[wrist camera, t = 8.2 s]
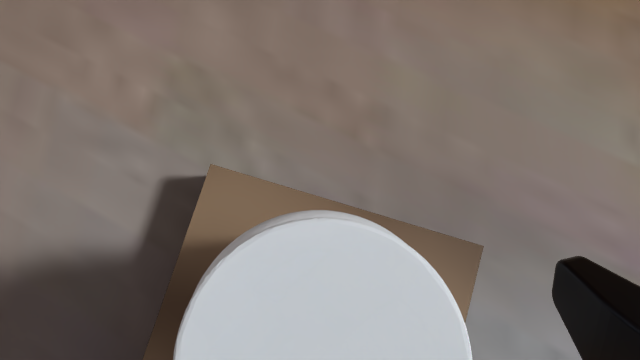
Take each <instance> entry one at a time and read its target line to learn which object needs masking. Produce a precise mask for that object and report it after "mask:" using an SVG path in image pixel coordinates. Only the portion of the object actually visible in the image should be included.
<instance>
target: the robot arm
mask: <svg viewBox="0 0 640 360" xmlns="http://www.w3.org/2000/svg"><path fill="white" fill-rule="evenodd" d="M552 297H553V301H554V304H555V306H556V308H557V310H558V312H559V314H560V316H561V318H562V320H563V322H564V324H565V326H566V328H567V330H568V332H569V334H570V336H571V338H572V340H573V342H574V344H575V346H576V348H577V350H578V352H579V354H580V356H581V358H582V360H640V286H638V285H636V284H634V283H632V282H630V281H628V280H626V279H625V278H623V277H621V276H619V275H617V274H615V273H613V272H611V271H609V270H608V269H606V268H604V267H602V266H600V265H598V264H596V263H594V262H592V261H590V260H589V259H587V258H585V257H581V256H575V257H571V258H567V259H563V260H560V261H558V263H557V264H556V268H555V274H554V281H553V288H552Z"/></svg>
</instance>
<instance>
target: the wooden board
mask: <svg viewBox="0 0 640 360" xmlns="http://www.w3.org/2000/svg"><path fill="white" fill-rule="evenodd" d="M308 210H329V211H337V212H344V213H348V214H352V215H355V216H359V217H362V218H364V219H367V220H369V221H372V222H374V223H376V224H378V225H380V226H382V227H384V228H385V229H387V230H388V231H390V232H392V233H393V234H394V235H396V236H397V237H399V238H400V239H401V240H402V241H404V242H405V243H406V244H407V245H408V246H410V247H411V248H413V249H414V250H415V251H416V252H418V253H419V254H420V255H421V256H422V257H423V258H424V259H426V260H427V262H428V263H429V264H430V265H431V266H432V267H433V268H434V269H435V270H436V272H437V273H438V274H439V276H440V277H441V278H442V279H443V281H444V282H445V284H446V285H447V287H448V289H449V290H450V292H451V294H452V295H453V297H454V299H455V301H456V303H457V305H458V307H459V309H460V312H461V314H462V317H463V320H464V322H465V321H466V317H467V313H468V309H469V305H470V300H471V296H472V292H473V288H474V284H475V280H476V276H477V272H478V267H479V263H480V259H481V255H482V251H483V247H484V246H481V245H478V244H475V243H472V242H468V241H465V240H462V239H458V238H455V237H452V236H448V235H445V234H442V233H438V232H435V231H432V230H428V229H425V228H422V227H418V226H415V225H412V224H408V223H405V222H402V221H398V220H395V219H392V218H388V217H385V216H382V215H378V214H375V213H372V212H368V211H365V210H362V209H359V208H355V207H352V206H349V205H345V204H342V203H339V202H335V201H332V200H329V199H325V198H322V197H319V196H315V195H312V194H309V193H305V192H302V191H299V190H295V189H292V188H289V187H285V186H282V185H279V184H275V183H272V182H269V181H265V180H262V179H259V178H255V177H252V176H249V175H246V174H242V173H239V172H236V171H232V170H229V169H226V168H222V167H219V166H216V165H212V164H210V167H209V170H208V173H207V176H206V179H205V182H204V184H203V187H202V190H201V193H200V196H199V199H198V202H197V205H196V207H195V210H194V213H193V216H192V219H191V222H190V225H189V227H188V230H187V233H186V236H185V239H184V242H183V245H182V248H181V250H180V253H179V256H178V259H177V262H176V265H175V268H174V270H173V273H172V276H171V279H170V282H169V285H168V288H167V291H166V293H165V296H164V299H163V302H162V305H161V308H160V311H159V314H158V316H157V319H156V322H155V325H154V328H153V331H152V334H151V336H150V339H149V342H148V345H147V348H146V351H145V354H144V357H143V359H142V360H173V356H174V348H175V343H176V339H177V334H178V331H179V327H180V324H181V321H182V319H183V316H184V313H185V310H186V308H187V306H188V304H189V302H190V300H191V298H192V296H193V293H194V291H195V289H196V287H197V285H198V283H199V282H200V280H201V278H202V276H203V275H204V273H205V272H206V270H207V269H208V268H209V266H210V265H211V263H212V262H213V261H214V260H215V258H216V257H217V256H218V255H219V254H220V253H221V252H222V251H223V250H224V249H225V248H226V247H227V246H228V245H229V244H230V243H231V242H233V241H234V240H235V239H236V238H238V237H239V236H240V235H242V234H243V233H244V232H246V231H248V230H249V229H251V228H253V227H255V226H257V225H258V224H260V223H262V222H265V221H267V220H269V219H272V218H275V217H277V216H280V215H284V214H288V213H293V212H299V211H308Z"/></svg>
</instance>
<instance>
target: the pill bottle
mask: <svg viewBox="0 0 640 360" xmlns="http://www.w3.org/2000/svg"><path fill="white" fill-rule="evenodd" d="M173 360H472V353H471V345H470V341H469V337H468V333H467V329H466V325H465V322H464V320H463V317H462V314H461V312H460V309H459V307H458V305H457V303H456V301H455V299H454V297H453V295H452V294H451V292H450V290H449V289H448V287H447V285H446V284H445V282H444V281H443V279H442V278H441V277H440V276H439V274H438V273H437V272H436V270H435V269H434V268H433V267H432V266H431V265H430V264H429V263H428V262H427V260H426V259H424V258H423V257H422V256H421V255H420V254H419V253H418V252H416V251H415V250H414V249H413V248H411V247H410V246H408V245H407V244H406V243H405V242H404V241H402V240H401V239H400V238H399V237H397V236H396V235H394V234H393V233H392V232H390V231H388V230H387V229H385V228H384V227H382V226H380V225H378V224H376V223H374V222H372V221H369V220H367V219H364V218H362V217H359V216H355V215H352V214H348V213H344V212H337V211H329V210H308V211H299V212H293V213H288V214H284V215H280V216H277V217H275V218H272V219H269V220H267V221H265V222H262V223H260V224H258V225H257V226H255V227H253V228H251V229H249V230H248V231H246V232H244V233H243V234H242V235H240V236H239V237H238V238H236V239H235V240H234V241H233V242H231V243H230V244H229V245H228V246H227V247H226V248H225V249H224V250H223V251H222V252H221V253H220V254H219V255H218V256H217V257H216V258H215V260H214V261H213V262H212V263H211V265H210V266H209V268H208V269H207V270H206V272H205V273H204V275H203V276H202V278H201V280H200V282H199V283H198V285H197V287H196V289H195V291H194V293H193V296H192V298H191V300H190V302H189V304H188V306H187V308H186V310H185V313H184V316H183V319H182V321H181V324H180V327H179V331H178V334H177V339H176V343H175V348H174V356H173Z"/></svg>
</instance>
